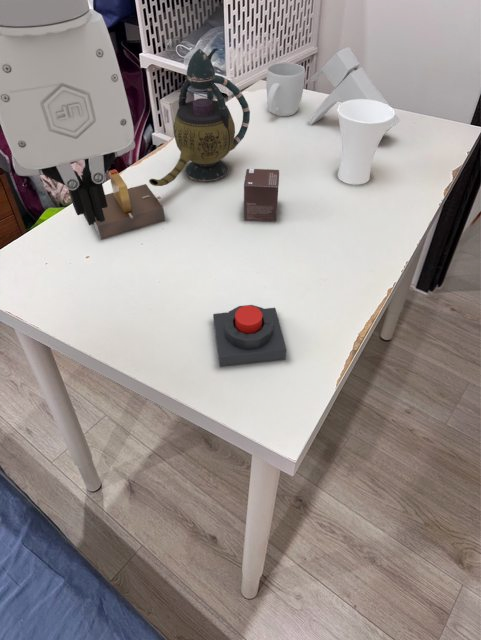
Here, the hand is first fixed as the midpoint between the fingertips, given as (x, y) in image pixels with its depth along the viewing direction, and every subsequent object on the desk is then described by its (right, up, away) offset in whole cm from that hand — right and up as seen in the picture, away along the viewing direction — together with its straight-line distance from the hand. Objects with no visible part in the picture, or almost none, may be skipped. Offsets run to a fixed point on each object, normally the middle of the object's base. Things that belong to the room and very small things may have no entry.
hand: (93, 215), depth 46 cm
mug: (+25, +41, +70) cm, 85 cm away
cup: (+38, +19, +49) cm, 65 cm away
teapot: (+6, +18, +49) cm, 53 cm away
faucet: (+40, +34, +63) cm, 82 cm away
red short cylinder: (+16, -11, +16) cm, 25 cm away
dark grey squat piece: (+16, -13, +19) cm, 28 cm away
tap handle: (-7, +11, +37) cm, 39 cm away
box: (+18, +10, +41) cm, 46 cm away
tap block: (-7, +9, +40) cm, 41 cm away
